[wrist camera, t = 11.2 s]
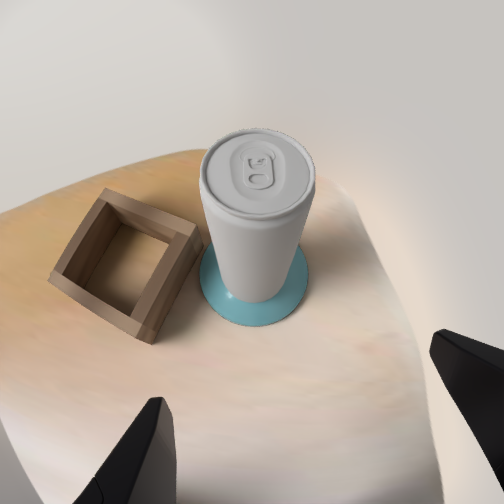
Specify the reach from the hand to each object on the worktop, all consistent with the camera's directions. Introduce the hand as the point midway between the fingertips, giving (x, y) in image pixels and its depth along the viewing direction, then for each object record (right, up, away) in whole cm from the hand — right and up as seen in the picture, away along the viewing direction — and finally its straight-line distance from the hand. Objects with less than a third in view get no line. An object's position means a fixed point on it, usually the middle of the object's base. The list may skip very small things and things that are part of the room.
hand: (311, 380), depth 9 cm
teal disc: (-2, +2, +15) cm, 15 cm away
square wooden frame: (-11, +2, +15) cm, 19 cm away
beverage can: (-2, +2, +14) cm, 15 cm away
